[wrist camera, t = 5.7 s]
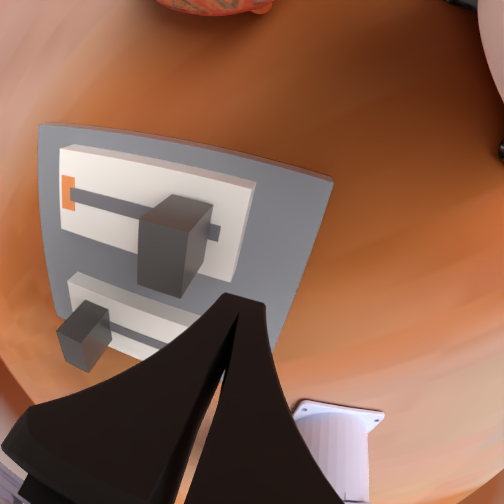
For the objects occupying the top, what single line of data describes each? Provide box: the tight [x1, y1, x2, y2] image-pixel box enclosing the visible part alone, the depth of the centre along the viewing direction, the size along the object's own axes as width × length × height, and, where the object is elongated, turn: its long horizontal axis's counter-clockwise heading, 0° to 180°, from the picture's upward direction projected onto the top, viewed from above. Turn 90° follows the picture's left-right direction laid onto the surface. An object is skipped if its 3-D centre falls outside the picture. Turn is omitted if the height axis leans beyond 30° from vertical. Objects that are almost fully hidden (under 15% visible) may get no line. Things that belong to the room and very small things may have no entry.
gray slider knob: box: [137, 194, 213, 299], centre depth 13 cm, size 3×2×3 cm, turn 167°
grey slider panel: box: [38, 122, 334, 382], centre depth 16 cm, size 16×18×6 cm
